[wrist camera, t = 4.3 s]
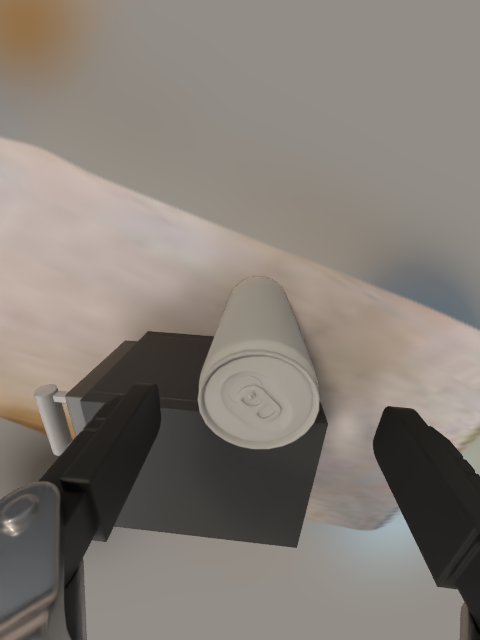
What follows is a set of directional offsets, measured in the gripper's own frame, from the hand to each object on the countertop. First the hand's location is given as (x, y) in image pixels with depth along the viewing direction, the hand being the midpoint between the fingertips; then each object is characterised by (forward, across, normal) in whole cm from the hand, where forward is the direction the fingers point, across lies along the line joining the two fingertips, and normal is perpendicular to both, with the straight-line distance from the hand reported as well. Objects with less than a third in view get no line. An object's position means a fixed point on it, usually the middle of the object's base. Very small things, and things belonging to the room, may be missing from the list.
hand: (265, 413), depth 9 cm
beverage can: (+12, 0, 0) cm, 13 cm away
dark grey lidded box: (+12, +3, +9) cm, 16 cm away
